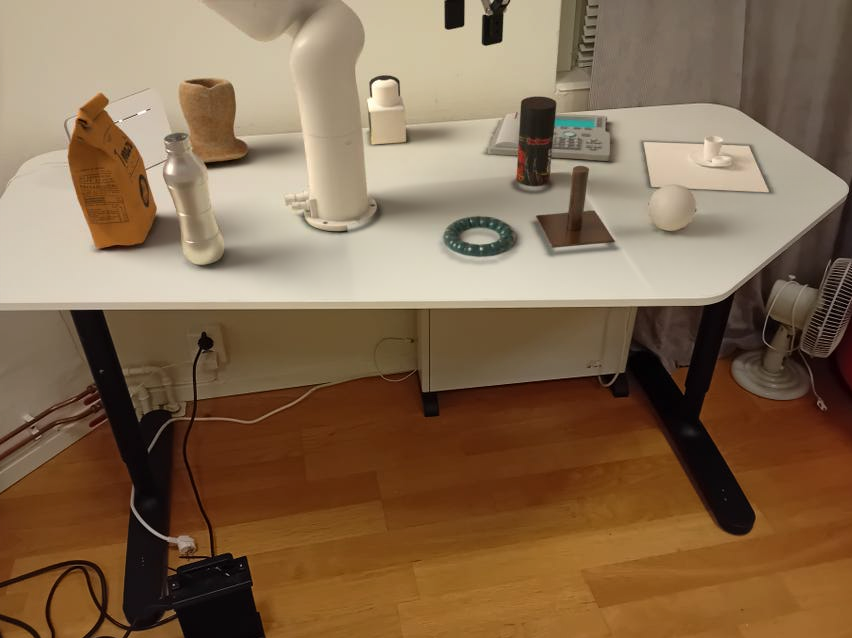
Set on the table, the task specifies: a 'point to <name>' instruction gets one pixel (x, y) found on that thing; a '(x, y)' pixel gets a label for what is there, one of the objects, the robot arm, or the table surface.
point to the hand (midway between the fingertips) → (472, 35)
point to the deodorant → (535, 140)
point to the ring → (479, 249)
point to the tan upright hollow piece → (211, 118)
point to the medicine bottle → (386, 111)
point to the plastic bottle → (192, 200)
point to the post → (575, 218)
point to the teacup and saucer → (704, 166)
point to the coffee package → (109, 178)
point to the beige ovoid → (672, 207)
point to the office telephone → (559, 137)
